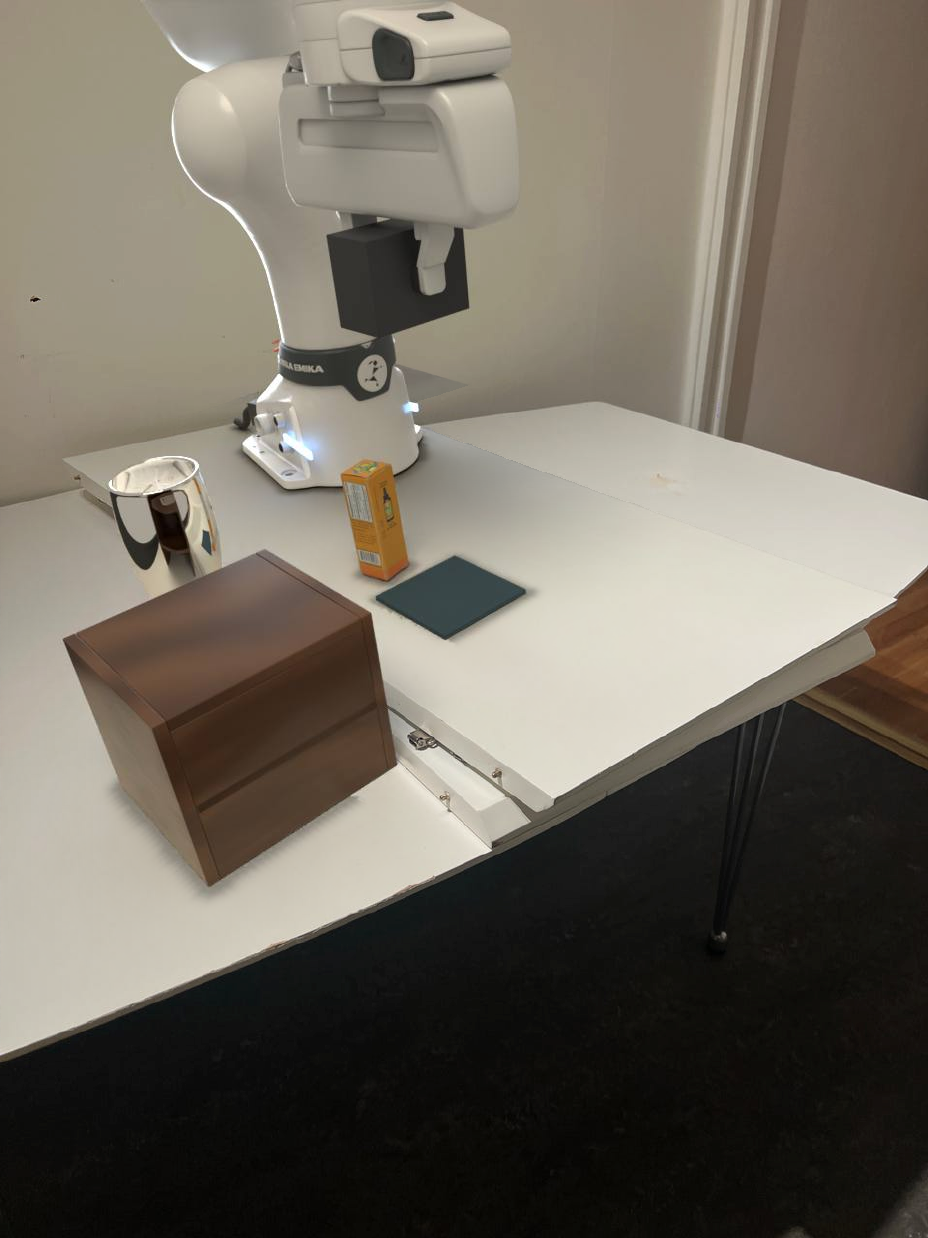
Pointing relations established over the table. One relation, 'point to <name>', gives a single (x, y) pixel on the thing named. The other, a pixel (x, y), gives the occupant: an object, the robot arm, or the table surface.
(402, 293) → the dark gray rectangular box
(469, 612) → the pad
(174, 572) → the silver metal tumbler
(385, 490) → the supplement box
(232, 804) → the wooden drawer unit
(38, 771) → the table surface
